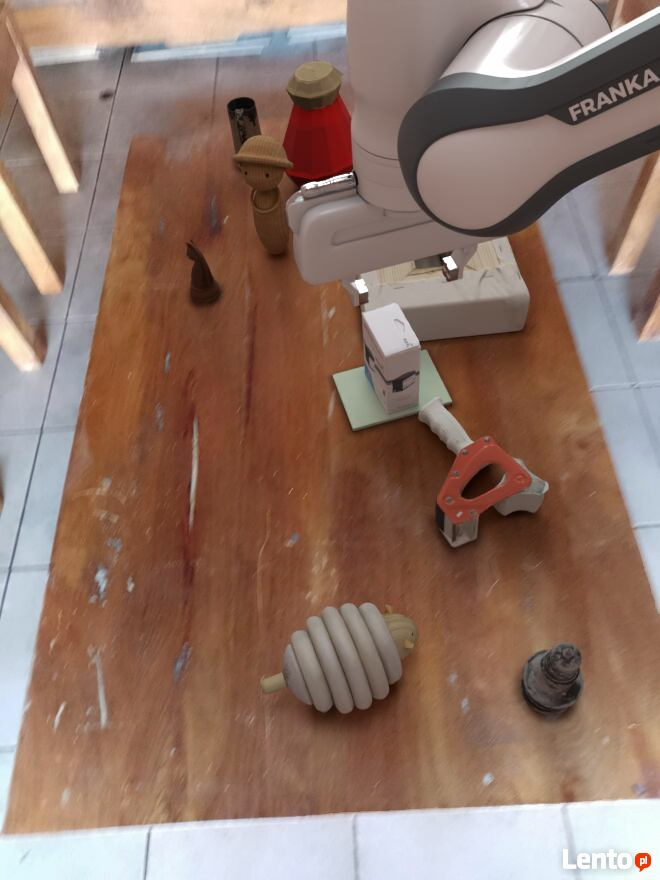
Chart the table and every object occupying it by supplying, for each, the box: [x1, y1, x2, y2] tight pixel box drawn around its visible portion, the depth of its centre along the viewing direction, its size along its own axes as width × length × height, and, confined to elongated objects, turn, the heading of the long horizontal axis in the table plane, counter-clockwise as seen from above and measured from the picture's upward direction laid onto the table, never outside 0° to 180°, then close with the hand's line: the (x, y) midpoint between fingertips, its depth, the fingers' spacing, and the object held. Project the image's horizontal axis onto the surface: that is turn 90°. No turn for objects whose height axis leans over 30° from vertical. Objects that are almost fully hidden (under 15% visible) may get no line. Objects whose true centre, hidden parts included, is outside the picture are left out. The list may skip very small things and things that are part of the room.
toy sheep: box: [259, 602, 420, 714], centre depth 72 cm, size 11×17×11 cm, turn 115°
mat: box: [331, 348, 453, 432], centre depth 99 cm, size 14×10×1 cm
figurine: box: [230, 134, 293, 255], centre depth 109 cm, size 9×7×20 cm
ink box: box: [361, 303, 422, 414], centre depth 94 cm, size 8×5×12 cm, turn 19°
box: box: [356, 236, 531, 342], centre depth 109 cm, size 23×8×32 cm
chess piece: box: [184, 239, 221, 305], centre depth 109 cm, size 5×5×10 cm
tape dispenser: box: [417, 397, 550, 548], centre depth 88 cm, size 18×5×20 cm
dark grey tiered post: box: [520, 641, 584, 716], centre depth 70 cm, size 6×6×12 cm
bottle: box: [281, 60, 353, 191], centre depth 119 cm, size 16×14×20 cm
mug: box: [226, 96, 263, 170], centre depth 127 cm, size 8×6×12 cm
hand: (405, 288), depth 69 cm, fingers open, 8 cm apart
